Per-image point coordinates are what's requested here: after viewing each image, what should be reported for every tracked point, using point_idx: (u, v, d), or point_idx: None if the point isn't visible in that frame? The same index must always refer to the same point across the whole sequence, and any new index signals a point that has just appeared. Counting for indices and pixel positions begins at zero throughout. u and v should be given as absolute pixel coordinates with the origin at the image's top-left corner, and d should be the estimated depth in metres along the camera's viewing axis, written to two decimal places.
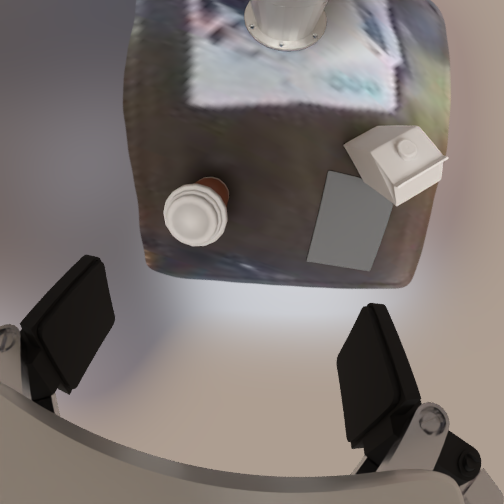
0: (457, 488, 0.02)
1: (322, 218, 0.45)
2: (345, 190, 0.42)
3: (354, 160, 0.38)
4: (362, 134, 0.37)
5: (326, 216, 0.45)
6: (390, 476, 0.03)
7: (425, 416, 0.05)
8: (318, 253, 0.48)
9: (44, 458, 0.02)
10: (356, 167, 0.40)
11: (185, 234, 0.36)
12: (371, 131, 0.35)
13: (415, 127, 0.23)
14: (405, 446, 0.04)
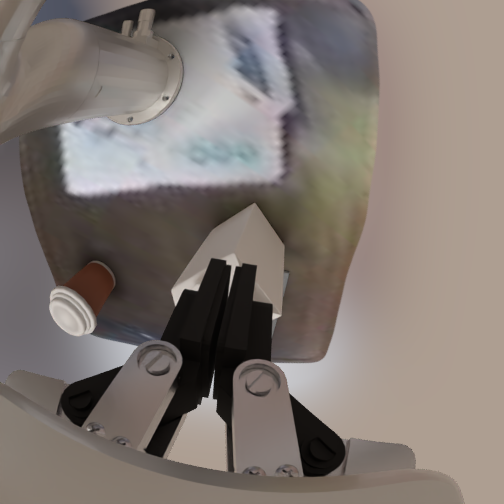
0: (457, 488, 0.02)
1: None
2: None
3: None
4: (232, 217, 0.35)
5: None
6: (390, 476, 0.03)
7: (248, 379, 0.06)
8: None
9: (44, 458, 0.02)
10: None
11: (66, 326, 0.33)
12: (237, 217, 0.33)
13: (230, 255, 0.21)
14: (243, 423, 0.04)
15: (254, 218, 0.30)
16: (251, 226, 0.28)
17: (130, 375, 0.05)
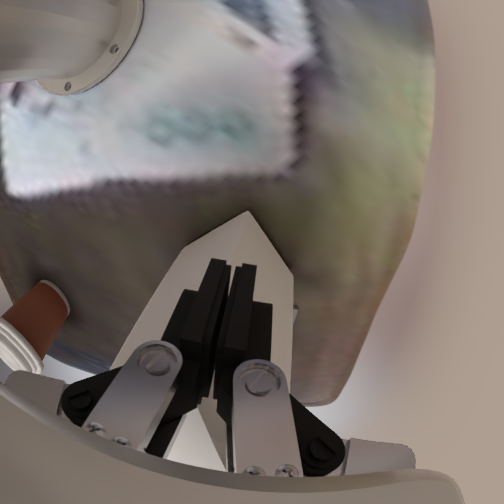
0: (457, 488, 0.02)
1: None
2: None
3: None
4: (211, 234, 0.21)
5: None
6: (390, 476, 0.03)
7: (248, 378, 0.06)
8: None
9: (44, 458, 0.02)
10: None
11: (12, 364, 0.21)
12: (216, 238, 0.19)
13: None
14: (243, 423, 0.04)
15: (245, 247, 0.17)
16: None
17: (130, 375, 0.05)
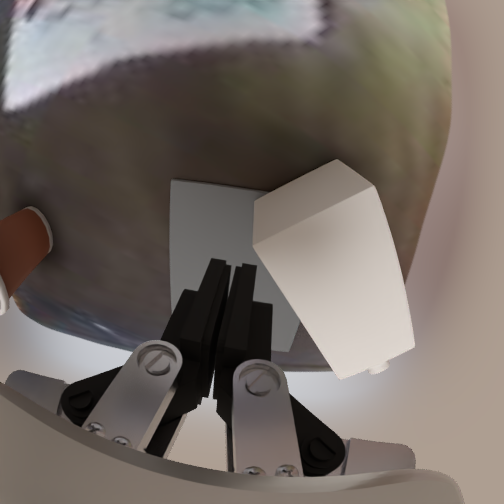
0: (457, 488, 0.02)
1: (178, 270, 0.24)
2: (212, 216, 0.21)
3: None
4: (322, 227, 0.13)
5: (184, 267, 0.24)
6: (390, 476, 0.03)
7: (248, 378, 0.06)
8: None
9: (44, 458, 0.02)
10: None
11: None
12: (353, 245, 0.14)
13: (410, 348, 0.19)
14: (242, 423, 0.04)
15: None
16: None
17: (130, 375, 0.05)
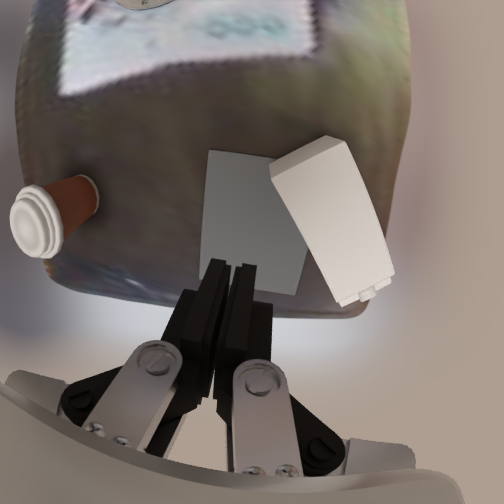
0: (457, 488, 0.02)
1: (209, 220, 0.32)
2: (238, 176, 0.29)
3: None
4: (313, 166, 0.21)
5: (214, 217, 0.32)
6: (390, 476, 0.03)
7: (248, 378, 0.06)
8: None
9: (44, 458, 0.02)
10: None
11: (26, 244, 0.23)
12: (335, 179, 0.22)
13: (391, 275, 0.26)
14: (243, 423, 0.04)
15: None
16: None
17: (130, 375, 0.05)
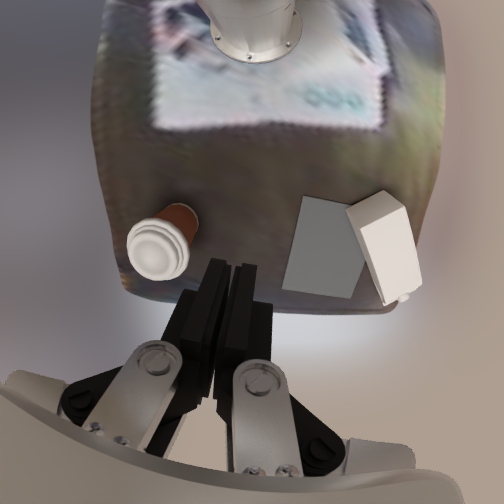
0: (457, 488, 0.02)
1: (297, 246, 0.43)
2: (322, 216, 0.40)
3: (359, 234, 0.36)
4: (385, 221, 0.32)
5: (301, 244, 0.43)
6: (390, 476, 0.03)
7: (248, 378, 0.06)
8: (294, 280, 0.46)
9: (44, 458, 0.02)
10: (352, 220, 0.37)
11: (148, 269, 0.34)
12: (395, 229, 0.33)
13: None
14: (243, 423, 0.04)
15: None
16: None
17: (130, 375, 0.05)
